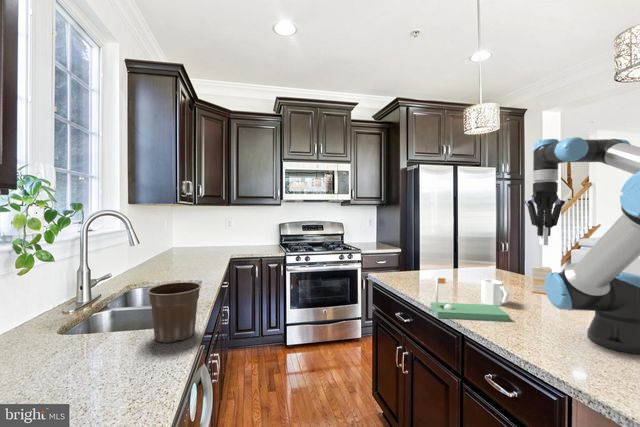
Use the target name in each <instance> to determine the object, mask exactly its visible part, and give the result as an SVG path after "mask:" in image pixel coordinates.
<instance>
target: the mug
mask: <svg viewBox="0 0 640 427" xmlns="http://www.w3.org/2000/svg"><path fill="white" fill-rule="evenodd" d="M480 291H481V292H480V295H481V296H480V297H481V298H480V302H481V303H482V304H484V305H496V306H497V307H501V306H502V305H504V304H506V303H508V301H509V297H510V294H511V293H510V292H509V291H508V289H507V288H506V287H505V286H504V281H500V280H499V279H498V280H497V279H486V278H485V279H481V289H480Z"/></svg>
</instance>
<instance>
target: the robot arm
mask: <svg viewBox="0 0 640 427" xmlns="http://www.w3.org/2000/svg"><path fill="white" fill-rule="evenodd" d="M532 153H533V154H532V155H533V157H532V158H533V168H532V169H533V174H532V178H533V179H532V181H533V183H532V195H531V198H529V199H527V200H525V201H524V203H525V205H526V206H527V210H528V213H529V218H530V222H531V225H532V226H535V227H536V229H537V230H536V231H537V233H536V234H537V236H539V240H538V242H539V243H538V244H539V245H542V246H549V237H551V231H552V230H551V228H554V227H557V225H558V222H559V218H560V215H561V211H562V208H563V206H564V205H565V203H566V201H565V200H561V199H560V198H559V195H558V192H559V191H558V190H559V183H558V182H557V181H558V180H559V164H564V163H565V164H566V163H601V164H604V165H608V166H611V167H613V168H616V169H619V170H621V171H624V172H627V173H629V174H632V175H630V177H628V179H627V180H626V181H625V182H624V183H623V186H622V188H621V190H620V192H621V193H622V194H620V195H619V202H620V210H621V213H622V215H620V217H618V219H617V220H616V221H615V222H614V223H613V224H612V225H611V226H610V227H609V228H608V229H607V231H606V232H605V233H604V234H603V235H602V236H601V237H600V238H599V240H597V242H596V243H595V244H594V245H593V246H592V247H591V248H590V249H589V250H588V251H587V252H586V253H585V255H583V256H582V258H581V259H580V260H579V261H578V262H572V263H569V264H567V265H566V266H565V268H564V269H562V271H561V272H557V271H553V272H552V273H549V274H548V275H547V276H546V279H545V290H546V294H545V295H546V296H547V299H548V300H549V303H550V304H551V305H552V306H553V307H555V308H557V309H559V310H566V311H593V312H594V316H593V317H592V320H591V322H590V324H589V327H588V328H587V330H586V331H587V333H586V336H587V339H589V341H590V342H592V343H595V344H597V345H599V346H600V347H601V346H602V347H604V348H606V349H611V350H613V351H618V352H621V353H628V354H635V355H640V275H639V274H635V273H630V272H625V271H624V270H625V269H626V268H628V267H629V266H630V265H631V264H632V263H633V262H634V261H636V260H637V259H638V258H639V257H640V146H637V145H633V144H631V143H630V142H629V140H626V139H623V138H622V139H621V138H620V139H619V138H611V139H610V138H609V139H607V138H606V139H604V138H603V139H583V138H582V137H577V136H575V137H568V138H565V139H562V140H558V139H557V138H545V139H541V140H540V139H539V140H537V141H536V142H534V145H533V151H532ZM535 205H536V206H535Z"/></svg>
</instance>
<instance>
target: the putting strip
mask: <svg viewBox="0 0 640 427" xmlns="http://www.w3.org/2000/svg"><path fill="white" fill-rule="evenodd" d="M439 284H441V285H442V284H446V278H445V277H435V301H434V302H433V301H431V302H430V309H431V311H432V312H433V313H434V315H435V316H436V317H437V318H438V319H453V320H455V319H456V320H470V321H471V320H472V321H473V320H474V321H492V322H494V321H495V322H510V315H509V314H508V313H507V312H506V311H504V310H503V309H501V308H500V306H496V305H487V304H484V303H482V304H480V303H477V304H476V303H461V302H460V303H459V302H458V303H457V302H440V301H439ZM447 304H449V305H451V306H452V307H453V310H452V309H444V306H445V305H447Z"/></svg>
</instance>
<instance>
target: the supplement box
mask: <svg viewBox="0 0 640 427" xmlns="http://www.w3.org/2000/svg"><path fill="white" fill-rule="evenodd" d="M530 271H531V272H530V275H531V276H530V279H531V280H530V281H531V282H530V290H531V293H533V294H541V295H547V294H546V290H545V279H546V276H547V275H548V274H549V273H553V272H552V268H551V267H549V266H537V265H531V270H530Z"/></svg>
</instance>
